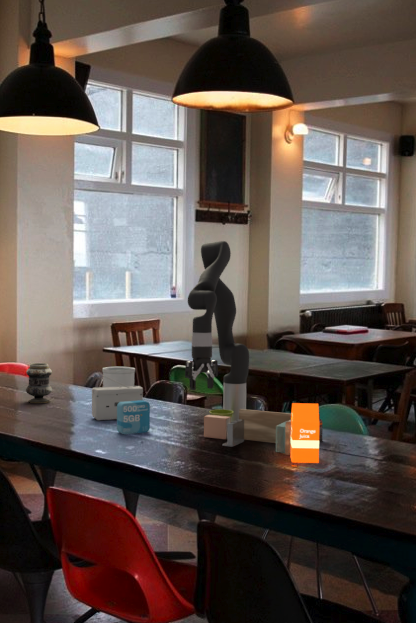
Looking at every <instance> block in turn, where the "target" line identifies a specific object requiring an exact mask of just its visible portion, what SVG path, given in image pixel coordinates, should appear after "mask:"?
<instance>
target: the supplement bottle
mask: <svg viewBox="0 0 416 623" xmlns="http://www.w3.org/2000/svg"><path fill="white" fill-rule="evenodd" d="M322 442H323V420H322V419H321V413H319V444H321V443H322Z"/></svg>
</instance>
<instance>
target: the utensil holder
mask: <svg viewBox="0 0 416 623" xmlns="http://www.w3.org/2000/svg"><path fill="white" fill-rule="evenodd" d="M135 373H136V368H135V367H129V366H107V367H102V375H104V376H106V377H108V378H110V379H113V380H115V381H117V382H119V383H121V384H123V385H125V386H135ZM104 376H102V382H103V383H102V387H123V385H121V384H119V383H117V382H114V381H112V380H110V379H108V378H106V377H104Z"/></svg>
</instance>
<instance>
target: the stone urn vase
mask: <svg viewBox="0 0 416 623" xmlns="http://www.w3.org/2000/svg"><path fill="white" fill-rule="evenodd" d="M52 374H53V371H52V369H51V368H50V366H49V363H46V362H31V363H30V364H29V368H28V369H27V370H26V375H27V376H28V385H27V386H26V388H25V392H26V393H27V394H28V395H29V396H31V397H34V398H31V399H29V400H28V401H27V402H28V403H29V402H30V403H29V404H46V403H49V402H51V401H50V399H47V398H45V397H46V396H48V395H50V394H51V393H52V391H53V389H52V387H51V386H50V376H51V375H52Z"/></svg>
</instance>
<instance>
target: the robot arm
mask: <svg viewBox="0 0 416 623" xmlns="http://www.w3.org/2000/svg"><path fill="white" fill-rule="evenodd" d="M231 254H232V253H231V248H230V245H229V243H228V242H227V241H226V240H219V241H218V240H217V241H211V242H205V243H202V245H201V247H200V255H201V261H202V265H203V267H204V270H203V271H202V273H200V276H199V279H198V282H197V284H196V285H195V286H194V287H193V288H192V289H191V290H190V292H189V294H188V296H187V305H188V307H189V308H190V309H192V310H200V311H205V312H204V314H202V315H198V316H195V317H193V318H192V336H191V358H192V361H186V362H185V367H184V369H185V370H184V377H185V378H186V379H188V380H189V389H190V390H191V391H196V388H197V385H196V384H197V377H198V375H199V374H203V373H204V374H205V375H206V376H207V377H206V378H207V380H206V381H207V385H206V386H207V389H213V388H214V381H215V380H214V379H215V378H216V377H218V376H219V368H218V366H219V365H218V362H219V361H218V360H217V359H211V358H212V357H213V333H212V330H213V329H212V328H213V326H212V325H213V317H214V320H215V326H216V332H217V341H218V342H217V343H218V350H219V351H218V352H219V358H220V360H221V362H222V363H223V364H224V365H227V366H230V372H228V373H227V374H225V375H224V376H223V404H222V405H223V407H222V408H223V409H225V410H231V411H233V412H234V413H233V414H232V417H231V422H233V421H236V420H238V419H239V409H247V378H248V376H249V369H250V368H249V366H250V352H249V348H248V347H247V346H246V344H243V343H236V342H235V339H234V334H233V326H234V322H235V319H236V315H237V306H236V301H235V295H234V293H233V292H232V290H231V289H230V287H228V285H227V284H225V282H224V281H223V280H222V279H221V275H222V274H223V273H224V271H225V270H226V267H227V266H228V264H229V262H230V259H231Z"/></svg>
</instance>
